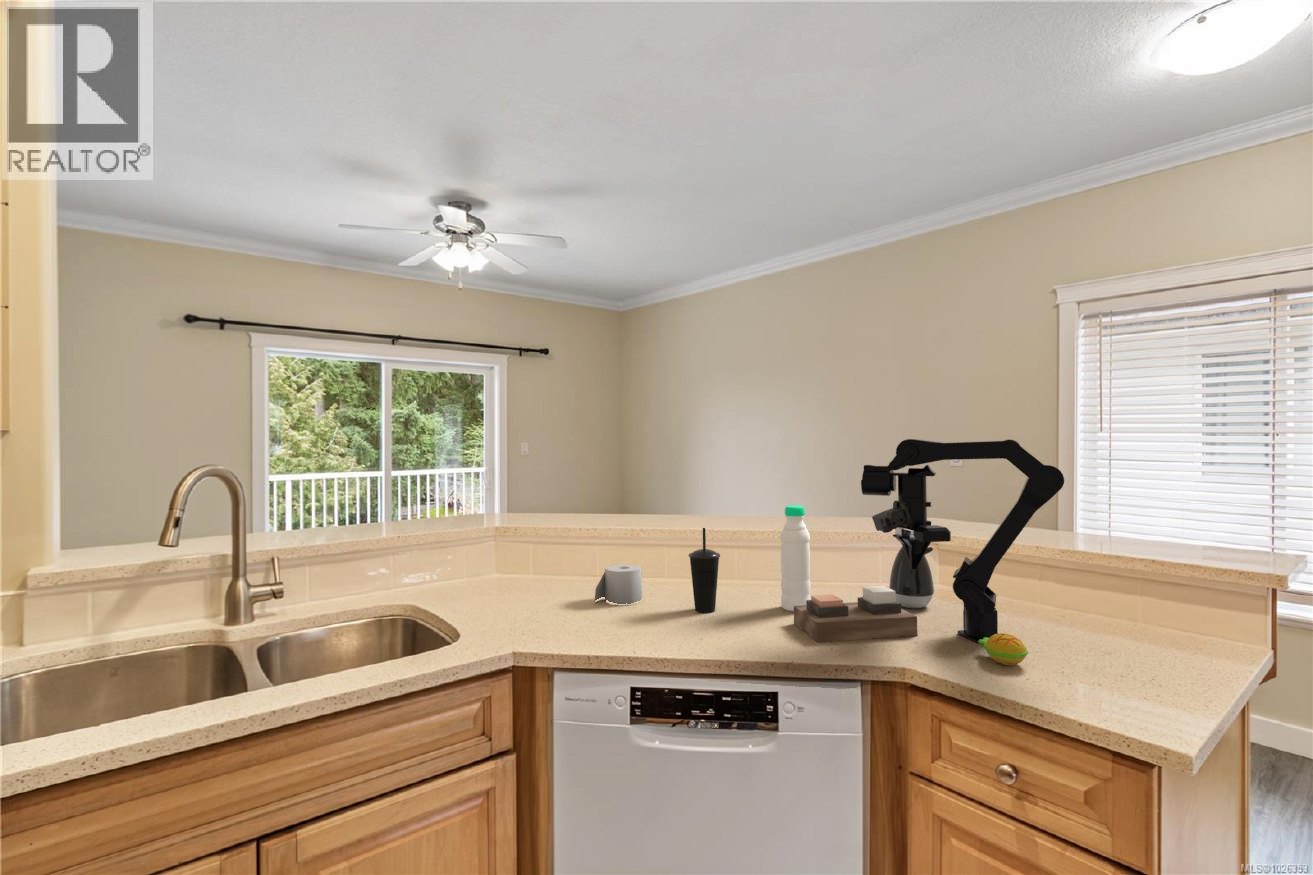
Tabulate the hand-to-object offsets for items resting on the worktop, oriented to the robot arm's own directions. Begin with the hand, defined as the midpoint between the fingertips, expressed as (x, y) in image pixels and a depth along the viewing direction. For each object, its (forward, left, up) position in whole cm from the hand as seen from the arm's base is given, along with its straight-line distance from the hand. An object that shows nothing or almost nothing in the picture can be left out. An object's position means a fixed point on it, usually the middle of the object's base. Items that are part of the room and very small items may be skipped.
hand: (913, 568), depth 135 cm
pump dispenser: (+17, -10, -13) cm, 24 cm away
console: (+2, +13, -13) cm, 18 cm away
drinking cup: (+23, +41, -13) cm, 49 cm away
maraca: (-21, -5, -13) cm, 25 cm away
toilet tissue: (+36, +61, -13) cm, 72 cm away
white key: (+2, +7, -8) cm, 10 cm away
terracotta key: (+2, +19, -9) cm, 21 cm away
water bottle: (+20, +19, -13) cm, 31 cm away
